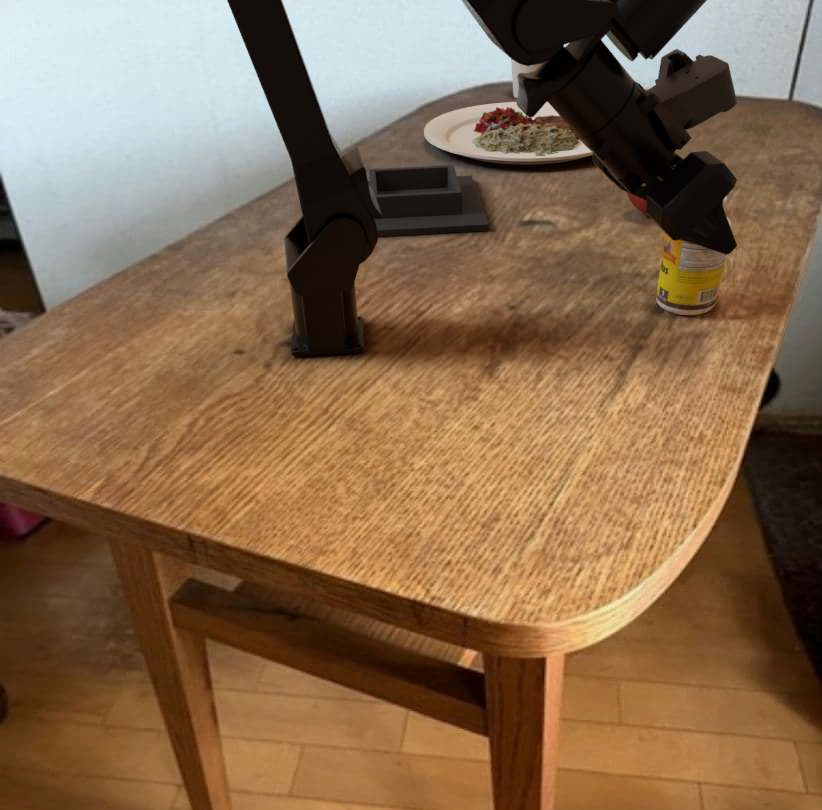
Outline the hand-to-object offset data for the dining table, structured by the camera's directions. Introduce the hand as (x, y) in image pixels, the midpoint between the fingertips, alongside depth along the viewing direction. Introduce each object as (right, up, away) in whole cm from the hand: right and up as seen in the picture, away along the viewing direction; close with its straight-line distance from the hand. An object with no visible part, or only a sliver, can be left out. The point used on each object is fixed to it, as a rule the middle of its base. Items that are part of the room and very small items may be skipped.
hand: (709, 231), depth 77 cm
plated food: (-10, +30, +48) cm, 58 cm away
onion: (+1, +10, +23) cm, 25 cm away
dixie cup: (-7, +48, +69) cm, 84 cm away
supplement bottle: (-1, -6, +4) cm, 7 cm away
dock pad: (-27, +13, +28) cm, 40 cm away
